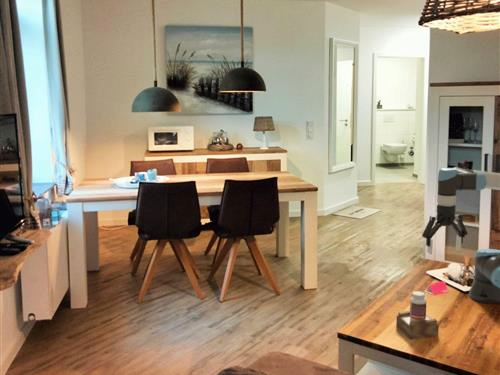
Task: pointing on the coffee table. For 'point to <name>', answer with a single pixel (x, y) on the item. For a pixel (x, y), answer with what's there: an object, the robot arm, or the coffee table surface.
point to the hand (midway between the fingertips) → (444, 252)
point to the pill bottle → (418, 306)
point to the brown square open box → (416, 326)
